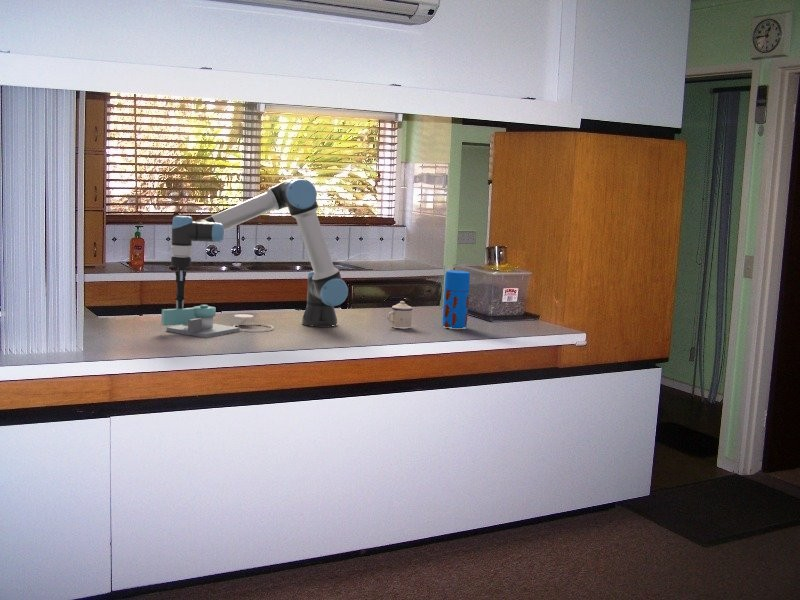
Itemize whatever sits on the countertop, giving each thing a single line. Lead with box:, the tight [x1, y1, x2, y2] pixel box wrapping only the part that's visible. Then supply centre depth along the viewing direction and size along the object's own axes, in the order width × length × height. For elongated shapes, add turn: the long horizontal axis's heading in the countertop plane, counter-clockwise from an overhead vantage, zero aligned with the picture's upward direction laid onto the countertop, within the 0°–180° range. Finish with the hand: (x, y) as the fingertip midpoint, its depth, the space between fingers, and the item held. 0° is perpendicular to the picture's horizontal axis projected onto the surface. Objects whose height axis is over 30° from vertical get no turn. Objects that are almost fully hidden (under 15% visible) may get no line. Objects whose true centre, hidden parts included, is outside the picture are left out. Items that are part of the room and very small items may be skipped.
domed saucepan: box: [160, 304, 217, 327], centre depth 335 cm, size 22×9×7 cm, turn 129°
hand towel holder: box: [232, 313, 275, 333], centre depth 353 cm, size 17×4×21 cm
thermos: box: [442, 270, 471, 328], centre depth 380 cm, size 11×11×25 cm
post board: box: [166, 316, 241, 339], centre depth 338 cm, size 20×23×6 cm
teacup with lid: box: [386, 300, 413, 327], centre depth 373 cm, size 12×9×12 cm
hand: (179, 316), depth 335 cm, fingers closed
